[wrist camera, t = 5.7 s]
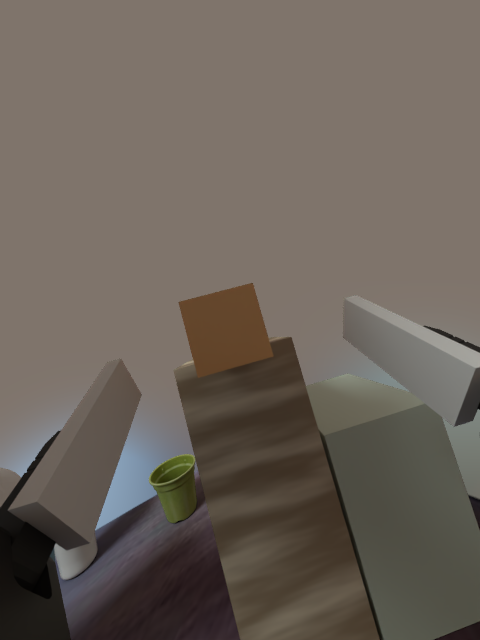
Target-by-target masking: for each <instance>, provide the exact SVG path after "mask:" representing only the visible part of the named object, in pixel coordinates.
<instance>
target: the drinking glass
mask: <svg viewBox="0 0 480 640" xmlns="http://www.w3.org/2000/svg"><path fill="white" fill-rule="evenodd" d="M97 550H98V547H97V542H96V536H95V531H94V534H93V537H92V540H91V543H89V544H86V545H83V546H80V547H77V548H73V549H70V550H67V551H66V550H65V549H63V548H62V547H61V546H59V545H58V544H55V546H54V551H55V557H56V560H57V563H58V567H59V572H60V576H61V578H62V579H63V580H69V579H72V578H74V577H76V576H77V575H79V574H80V573H82V572H83V571H84V570H85V569H86V568H87V567H88V566H89V565H90V564H91V563H92V561H93V560H94V558H95V557H96V554H97Z"/></svg>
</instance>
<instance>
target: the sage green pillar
mask: <svg viewBox="0 0 480 640" xmlns="http://www.w3.org/2000/svg"><path fill="white" fill-rule="evenodd" d="M306 389H307V392H308V396H309V399H310V403H311V406H312V409H313V413H314V416H315V420H316V423H317V427H318V430H319V433H320V437H321V440H322V444H323V447H324V450H325V454H326V457H327V461H328V464H329V468H330V471H331V474H332V478H333V481H334V485H335V488H336V492H337V495H338V498H339V502H340V505H341V509H342V512H343V515H344V519H345V522H346V526H347V529H348V533H349V536H350V539H351V543H352V546H353V550H354V553H355V557H356V560H357V563H358V567H359V570H360V574H361V577H362V581H363V584H364V587H365V591H366V594H367V598H368V601H369V604H370V608H371V611H372V615H373V618H374V622H375V625H376V628H377V632H378V635H379V637H380V639H381V640H434V639H436V638H439V637H441V636H444V635H446V634H449V633H451V632H454V631H456V630H459V629H461V628H464V627H466V626H469V625H471V624H474V623H476V622H479V621H480V530H479V527H478V524H477V521H476V518H475V515H474V512H473V509H472V506H471V503H470V500H469V497H468V494H467V491H466V488H465V485H464V482H463V479H462V476H461V473H460V470H459V467H458V464H457V461H456V458H455V455H454V452H453V449H452V447H451V443H450V440H449V438H448V435H447V431H446V428H445V426H444V422H443V419H442V417H441V416H440V415H439V414H437V413H436V412H435V411H434V410H432V409H431V408H430V407H429V406H427V405H426V404H425V403H424V402H423V401H421V400H420V399H419V398H418V397H416V396H415V395H414V394H413V393H411V392H407V391H404V390H401V389H398V388H394V387H391V386H388V385H384V384H381V383H377V382H374V381H371V380H367V379H364V378H361V377H357V376H354V375H351V374H345V375H342V376H338V377H335V378H331V379H328V380H325V381H322V382H318V383H315V384H311V385H308V386H306Z"/></svg>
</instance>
